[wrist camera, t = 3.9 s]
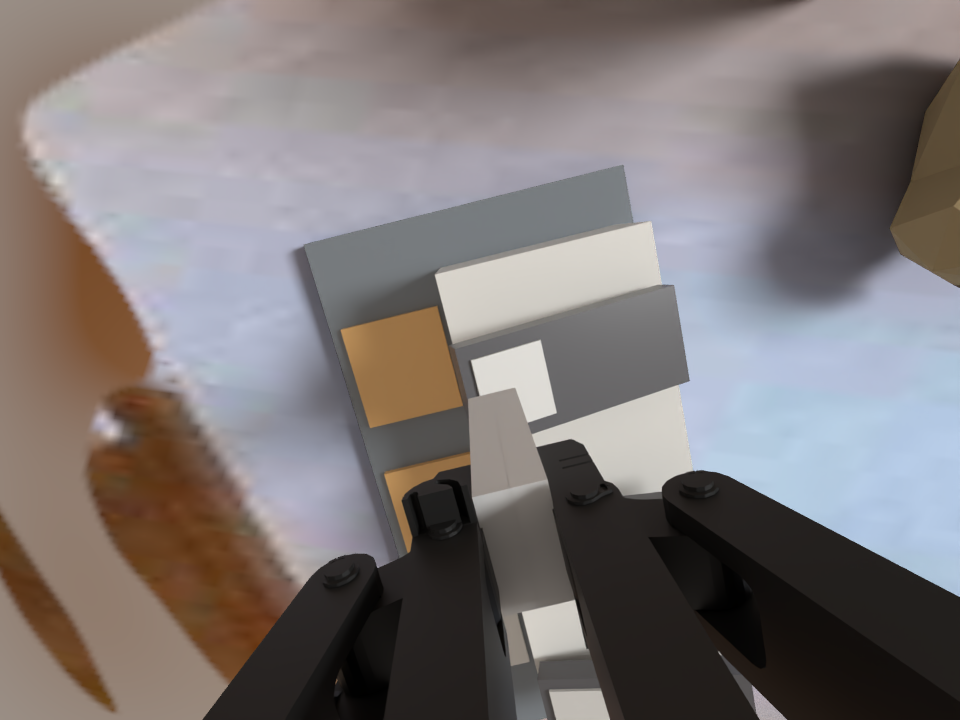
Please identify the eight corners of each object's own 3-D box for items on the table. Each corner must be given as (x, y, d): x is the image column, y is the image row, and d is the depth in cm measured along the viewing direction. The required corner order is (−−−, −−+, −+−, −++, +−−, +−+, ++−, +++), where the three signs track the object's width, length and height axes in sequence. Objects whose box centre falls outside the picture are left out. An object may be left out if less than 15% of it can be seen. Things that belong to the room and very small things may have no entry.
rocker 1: (658, 284, 25) (676, 285, 24) (673, 376, 26) (691, 381, 25) (448, 345, 23) (455, 349, 21) (473, 442, 24) (481, 452, 22)
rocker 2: (743, 654, 26) (750, 677, 25) (755, 728, 27) (762, 753, 26) (539, 661, 29) (536, 682, 28) (556, 728, 30) (554, 751, 29)
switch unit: (618, 167, 31) (672, 142, 23) (707, 669, 38) (771, 783, 30) (308, 244, 31) (254, 246, 23) (455, 726, 39) (452, 853, 31)
